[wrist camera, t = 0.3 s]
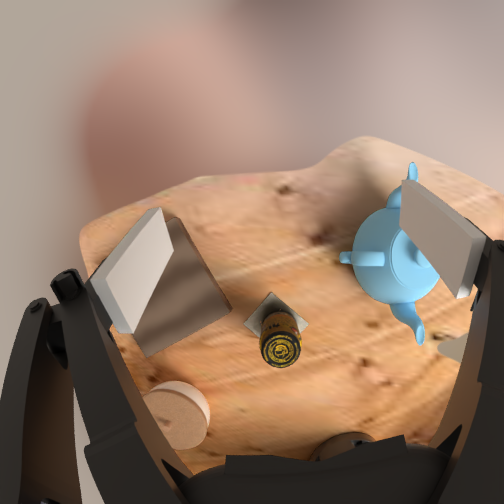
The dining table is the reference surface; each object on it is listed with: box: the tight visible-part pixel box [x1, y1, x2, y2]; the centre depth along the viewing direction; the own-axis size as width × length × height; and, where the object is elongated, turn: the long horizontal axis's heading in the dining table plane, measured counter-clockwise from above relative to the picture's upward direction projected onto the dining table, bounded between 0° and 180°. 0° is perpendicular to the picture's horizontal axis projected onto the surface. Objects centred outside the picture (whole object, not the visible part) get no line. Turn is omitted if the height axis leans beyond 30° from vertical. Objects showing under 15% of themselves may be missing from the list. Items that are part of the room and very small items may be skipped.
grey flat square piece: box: [131, 217, 232, 358], centre depth 47 cm, size 18×18×3 cm
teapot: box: [339, 162, 440, 345], centre depth 39 cm, size 16×20×14 cm
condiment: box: [244, 292, 309, 368], centre depth 42 cm, size 7×8×12 cm
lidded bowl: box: [142, 381, 210, 450], centre depth 43 cm, size 13×13×11 cm
